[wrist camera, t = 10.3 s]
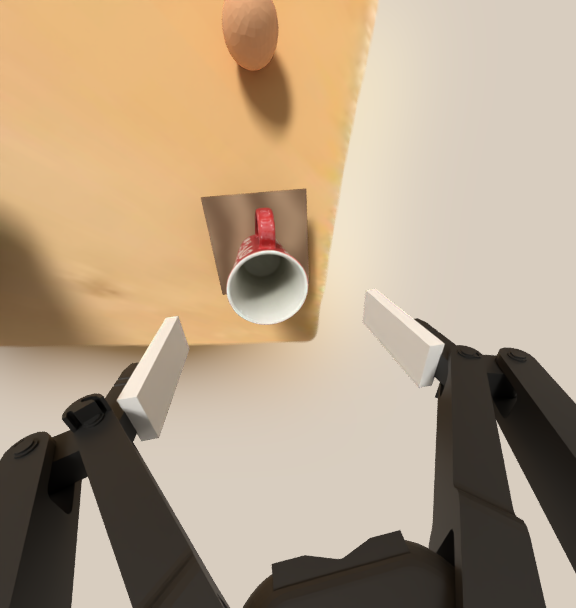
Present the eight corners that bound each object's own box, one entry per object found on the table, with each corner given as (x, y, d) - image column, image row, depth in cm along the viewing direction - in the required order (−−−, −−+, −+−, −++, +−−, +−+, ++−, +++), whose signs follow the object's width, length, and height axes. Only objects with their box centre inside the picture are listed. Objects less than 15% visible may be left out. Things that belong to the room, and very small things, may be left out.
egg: (276, 21, 31) (287, -38, 23) (271, 85, 34) (279, 54, 26) (225, 6, 29) (217, -62, 21) (224, 74, 32) (217, 38, 24)
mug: (287, 283, 40) (304, 324, 28) (233, 283, 38) (228, 326, 27) (292, 204, 34) (317, 214, 22) (230, 200, 33) (221, 208, 21)
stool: (226, 278, 46) (222, 294, 39) (208, 195, 39) (200, 197, 32) (300, 269, 47) (309, 283, 41) (296, 188, 40) (306, 188, 34)
